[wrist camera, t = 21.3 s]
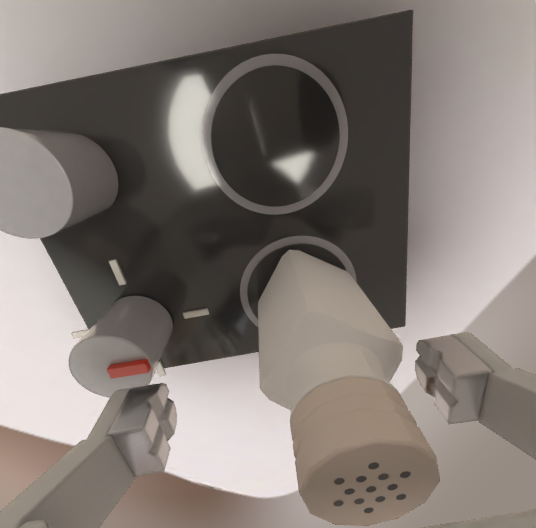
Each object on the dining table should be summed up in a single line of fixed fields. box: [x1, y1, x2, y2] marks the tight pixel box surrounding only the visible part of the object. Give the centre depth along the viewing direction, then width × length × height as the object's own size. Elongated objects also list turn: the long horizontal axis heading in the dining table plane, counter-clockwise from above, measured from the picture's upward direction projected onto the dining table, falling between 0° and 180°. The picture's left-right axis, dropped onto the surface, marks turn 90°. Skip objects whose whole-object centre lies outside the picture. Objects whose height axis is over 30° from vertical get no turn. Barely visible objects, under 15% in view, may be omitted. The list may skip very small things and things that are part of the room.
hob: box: [0, 10, 413, 376], centre depth 15 cm, size 19×15×3 cm
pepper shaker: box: [258, 250, 440, 526], centre depth 11 cm, size 4×4×10 cm
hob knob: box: [69, 296, 173, 397], centre depth 14 cm, size 4×4×4 cm
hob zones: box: [0, 54, 357, 327], centre depth 12 cm, size 14×14×4 cm
